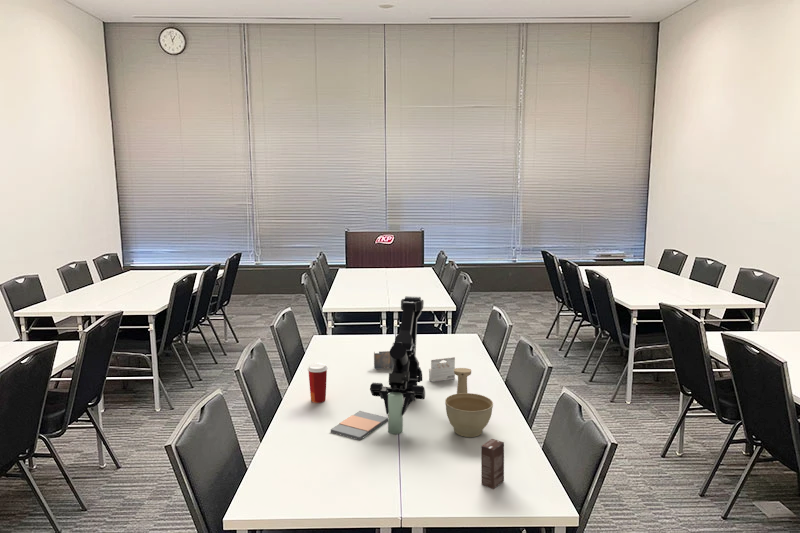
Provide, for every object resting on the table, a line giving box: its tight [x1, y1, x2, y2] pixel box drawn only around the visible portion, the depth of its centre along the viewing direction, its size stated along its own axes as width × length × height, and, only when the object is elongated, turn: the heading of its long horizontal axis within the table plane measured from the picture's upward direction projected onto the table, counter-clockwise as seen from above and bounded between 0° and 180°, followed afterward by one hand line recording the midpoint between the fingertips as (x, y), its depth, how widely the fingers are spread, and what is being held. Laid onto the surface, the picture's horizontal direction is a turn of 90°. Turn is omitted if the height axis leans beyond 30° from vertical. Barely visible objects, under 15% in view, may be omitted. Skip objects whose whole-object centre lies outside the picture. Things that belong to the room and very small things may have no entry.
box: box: [480, 438, 505, 490], centre depth 168 cm, size 6×4×12 cm
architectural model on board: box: [373, 350, 393, 370], centre depth 266 cm, size 11×3×10 cm, turn 97°
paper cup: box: [307, 362, 328, 404], centre depth 228 cm, size 8×8×14 cm
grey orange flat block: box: [330, 410, 388, 441], centre depth 206 cm, size 18×12×1 cm, turn 150°
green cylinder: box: [387, 392, 404, 435], centre depth 201 cm, size 5×5×13 cm
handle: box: [454, 367, 472, 394], centre depth 220 cm, size 5×6×15 cm
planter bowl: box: [444, 392, 494, 438], centre depth 201 cm, size 16×16×11 cm
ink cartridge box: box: [428, 357, 456, 382], centre depth 251 cm, size 2×11×10 cm, turn 108°
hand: (394, 414), depth 200 cm, fingers closed on green cylinder, 5 cm apart
